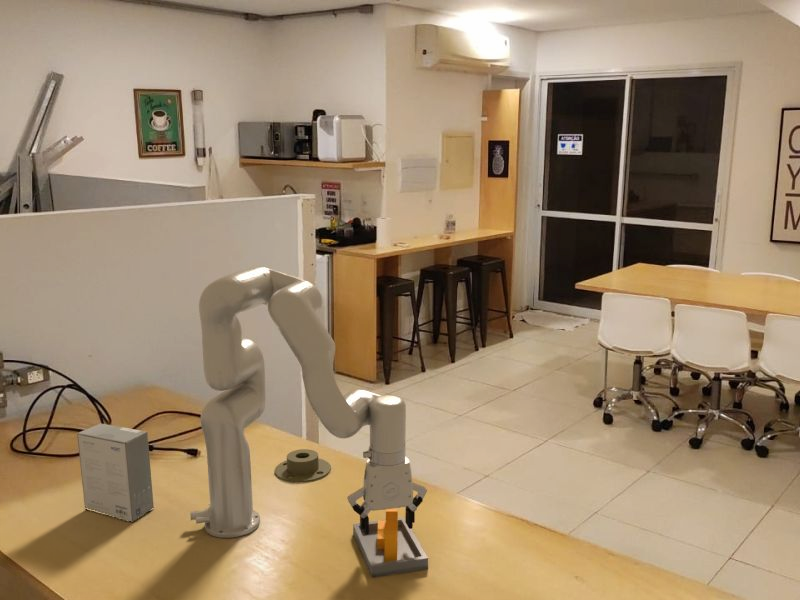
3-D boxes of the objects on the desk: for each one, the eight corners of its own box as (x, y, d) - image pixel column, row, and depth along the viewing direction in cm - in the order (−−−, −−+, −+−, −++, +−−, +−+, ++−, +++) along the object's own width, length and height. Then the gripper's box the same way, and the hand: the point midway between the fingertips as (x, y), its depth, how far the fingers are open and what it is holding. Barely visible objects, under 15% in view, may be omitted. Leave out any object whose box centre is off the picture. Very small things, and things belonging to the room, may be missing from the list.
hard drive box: (155, 509, 182) (149, 431, 177) (132, 523, 175) (125, 443, 171) (107, 497, 188) (100, 421, 184) (83, 510, 181) (75, 432, 177)
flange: (297, 440, 212) (262, 460, 199) (341, 451, 205) (308, 471, 192) (297, 456, 213) (263, 476, 200) (341, 467, 206) (308, 488, 193)
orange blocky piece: (378, 533, 168) (378, 507, 167) (397, 533, 168) (397, 507, 167) (376, 563, 156) (375, 534, 155) (397, 563, 156) (396, 534, 155)
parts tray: (371, 578, 152) (371, 566, 152) (353, 534, 169) (353, 524, 169) (428, 568, 156) (428, 558, 155) (404, 527, 173) (404, 517, 172)
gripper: (351, 466, 152) (351, 543, 156) (432, 457, 157) (431, 532, 160) (343, 451, 159) (344, 525, 163) (421, 443, 164) (420, 515, 167)
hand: (387, 528), depth 162 cm, fingers open, 9 cm apart
